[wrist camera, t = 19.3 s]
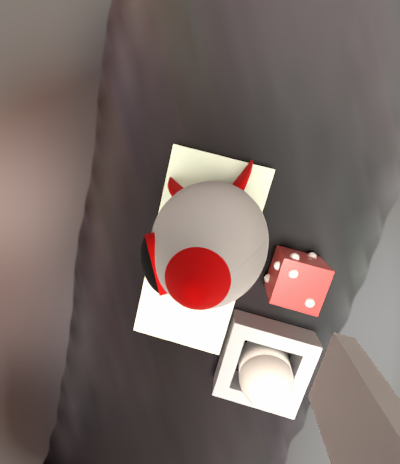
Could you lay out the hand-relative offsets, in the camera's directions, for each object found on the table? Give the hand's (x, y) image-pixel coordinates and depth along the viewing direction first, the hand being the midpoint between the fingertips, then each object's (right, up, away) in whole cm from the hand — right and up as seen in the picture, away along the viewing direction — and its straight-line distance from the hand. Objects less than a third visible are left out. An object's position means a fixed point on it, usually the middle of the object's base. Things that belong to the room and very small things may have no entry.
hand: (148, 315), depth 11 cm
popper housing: (+11, -15, +33) cm, 38 cm away
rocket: (+4, +6, +27) cm, 28 cm away
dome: (+11, -16, +32) cm, 37 cm away
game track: (+2, 0, +30) cm, 31 cm away
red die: (+15, -2, +30) cm, 33 cm away
